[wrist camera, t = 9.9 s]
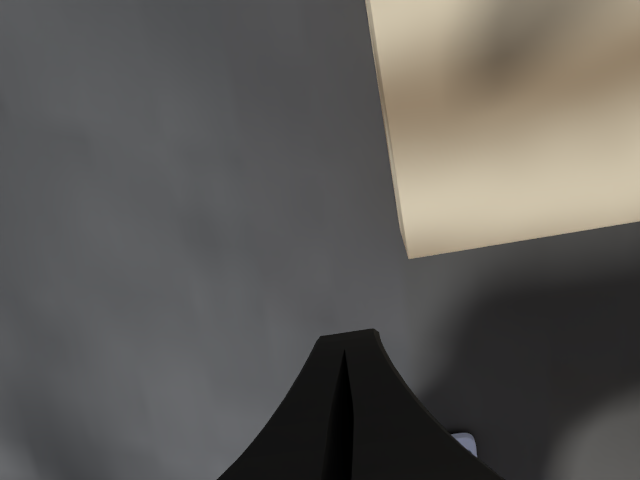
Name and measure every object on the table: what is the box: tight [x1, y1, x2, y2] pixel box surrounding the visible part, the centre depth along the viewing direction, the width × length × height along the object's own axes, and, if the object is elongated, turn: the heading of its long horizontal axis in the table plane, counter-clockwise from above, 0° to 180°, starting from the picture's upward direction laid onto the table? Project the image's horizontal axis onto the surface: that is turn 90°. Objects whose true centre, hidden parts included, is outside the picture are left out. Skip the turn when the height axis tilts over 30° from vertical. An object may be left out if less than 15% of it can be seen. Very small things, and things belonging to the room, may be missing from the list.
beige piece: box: [365, 0, 640, 259], centre depth 18 cm, size 10×12×3 cm
